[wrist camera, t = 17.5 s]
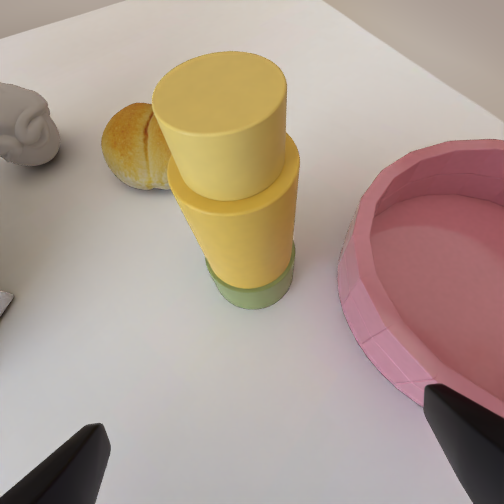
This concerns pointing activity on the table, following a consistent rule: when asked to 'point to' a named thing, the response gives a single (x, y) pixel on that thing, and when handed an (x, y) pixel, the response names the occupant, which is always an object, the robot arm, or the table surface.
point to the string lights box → (4, 300)
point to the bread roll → (137, 148)
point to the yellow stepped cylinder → (233, 169)
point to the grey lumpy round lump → (26, 127)
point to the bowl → (431, 271)
